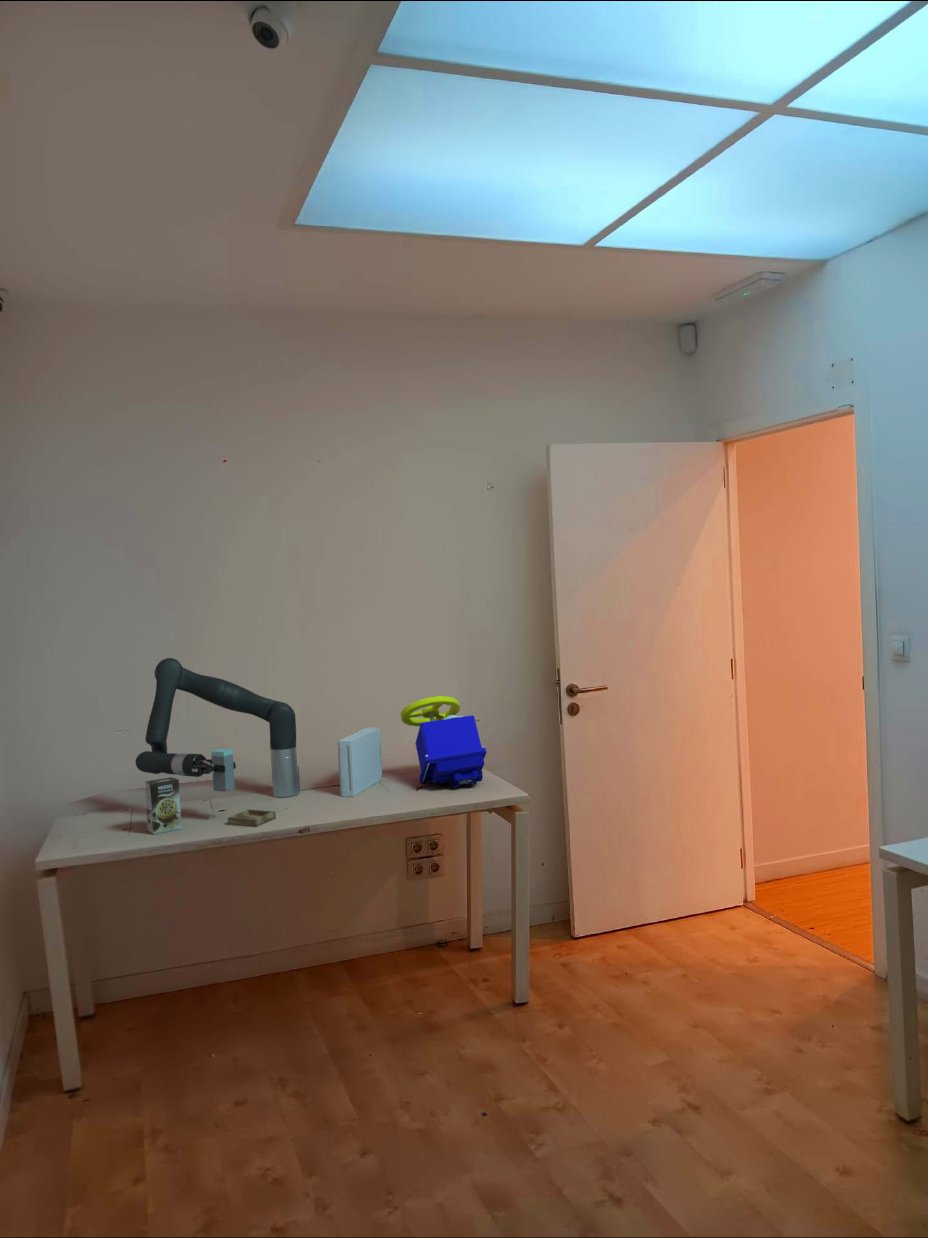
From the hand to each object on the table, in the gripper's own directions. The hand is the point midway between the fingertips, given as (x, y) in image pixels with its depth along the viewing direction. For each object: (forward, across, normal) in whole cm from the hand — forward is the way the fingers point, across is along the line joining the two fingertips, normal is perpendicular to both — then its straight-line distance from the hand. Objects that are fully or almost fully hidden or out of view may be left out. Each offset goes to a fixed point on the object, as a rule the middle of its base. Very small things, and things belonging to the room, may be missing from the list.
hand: (229, 767), depth 305 cm
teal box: (-3, 0, +8) cm, 8 cm away
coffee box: (-15, -15, +18) cm, 28 cm away
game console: (+18, +51, +18) cm, 57 cm away
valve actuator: (+45, +64, +18) cm, 80 cm away
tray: (+7, +1, +18) cm, 19 cm away
